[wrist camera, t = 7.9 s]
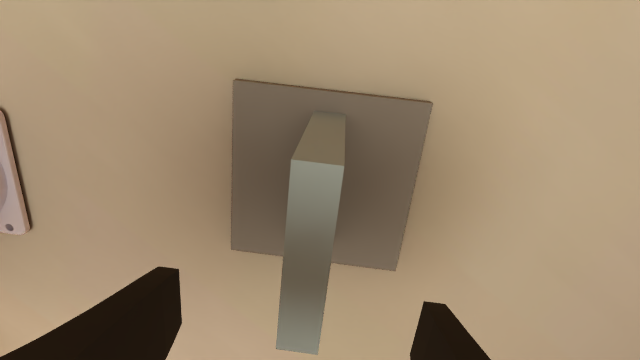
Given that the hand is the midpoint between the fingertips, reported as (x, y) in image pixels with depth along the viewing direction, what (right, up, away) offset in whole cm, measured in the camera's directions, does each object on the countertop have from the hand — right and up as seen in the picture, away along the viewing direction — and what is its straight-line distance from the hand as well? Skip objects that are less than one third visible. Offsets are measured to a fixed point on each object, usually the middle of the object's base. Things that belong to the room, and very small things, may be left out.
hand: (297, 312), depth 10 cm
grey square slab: (+1, +4, +9) cm, 10 cm away
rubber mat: (+1, +4, +10) cm, 10 cm away
